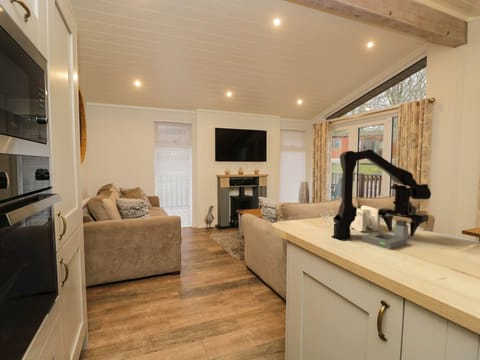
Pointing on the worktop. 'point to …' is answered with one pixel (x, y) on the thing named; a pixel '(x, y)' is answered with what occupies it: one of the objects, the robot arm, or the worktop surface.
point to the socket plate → (384, 240)
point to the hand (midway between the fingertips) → (400, 233)
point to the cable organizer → (366, 219)
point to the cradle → (410, 238)
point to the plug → (401, 229)
